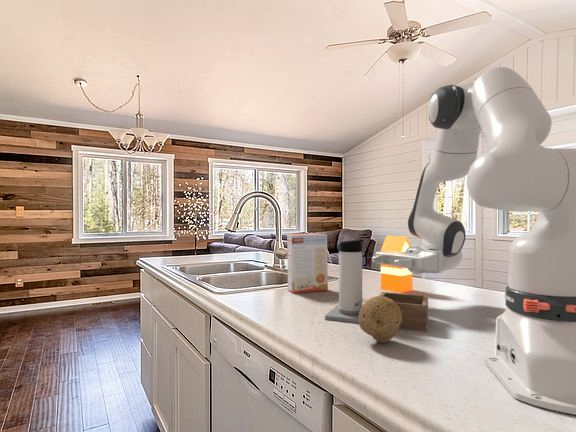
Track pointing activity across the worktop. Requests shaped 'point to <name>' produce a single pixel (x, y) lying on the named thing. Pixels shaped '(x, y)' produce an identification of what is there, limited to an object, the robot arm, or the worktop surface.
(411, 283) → the orange juice
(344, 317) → the mat
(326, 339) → the worktop surface
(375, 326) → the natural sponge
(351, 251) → the travel mug
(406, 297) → the wooden box
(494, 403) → the worktop surface
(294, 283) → the cracker box
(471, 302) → the worktop surface
